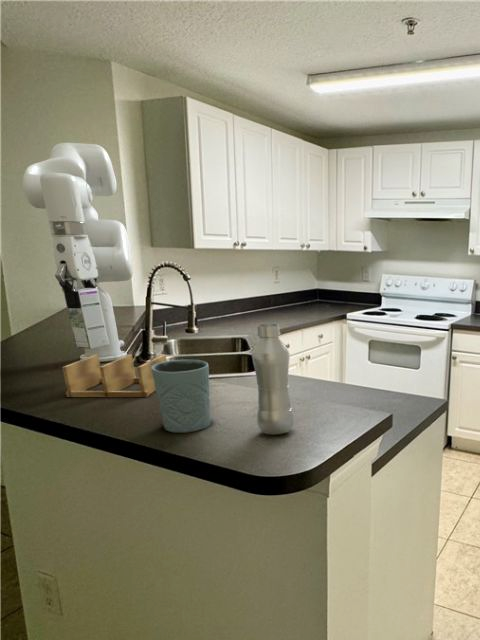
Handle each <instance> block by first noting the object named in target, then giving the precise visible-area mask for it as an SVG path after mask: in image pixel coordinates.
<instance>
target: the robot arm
mask: <svg viewBox="0 0 480 640" xmlns="http://www.w3.org/2000/svg"><path fill="white" fill-rule="evenodd" d="M109 155H110V154H109V153H108V152H107V151H106V149H105V148H104V147H103V146H101V145H99V144H95V143H80V142H60V143H57V144H55V145H54V146H52V149H51V151H50V155H49V158H48V159H45V160H41V161H38V162H36V163H32V164H30V165H28V166H27V167H26V169H24V173H23V177H22V191H23V195H24V198H25V199H26V201H27V202H28V204H29V205H31V206H32V207H34V208H36V209H43V210H45V211H46V216H47V220H48V226H49V230H50V235H51V238H52V248H53V256H54V262H55V267H56V272H55V274H54V277H55V279H56V280H57V282H58V284H59V286H60V287H61V291H62V292H64V293H63V295H64V294H65V297H64V300H65V299H66V302H65V305H66V304H67V306H66V309H67V308H81V302H80V297H79V292H78V291H76V288H97V289H98V294H99V298H100V303H101V308H102V313H103V317H104V322H105V327H106V331H107V336H108V340H109V346H105V347H100V348H94V349H87V348H83V350H84V353H83V354H81V355H80V356H79V360H82V359H84V358H87V357H90V356H92V355H95V354H98V356H99V361H100V363H105V362H112V361H115V360H117V359H119V358H122V357H124V356H126V355H128V353H127V351H125V350H121V347H124V346H125V341H124V340H122V339H119V334H118V328H117V323H116V317H115V316H116V315H115V312H114V307H113V301H112V298H111V296H110V293H108V292H107V290H105V289H104V288H103V287H102V286H101V285H100V284H99V283H111V282H115V283H117V282H126V281H127V282H128V281H129V280H131V279H132V277H133V275H134V266H133V258H132V252H131V245H130V239H129V235H128V234H129V233H128V230H127V229H126V227H125V225H124V224H123V223H122V222H120V221H119V220H115V219H99V214H98V212H97V210H96V209H95V208H94V206H93V205H91V204H92V202H93V197H94V196H95V197H110V196H113V195H115V193H116V192H117V187H118V185H117V183H118V182H117V178H116V175H115V170H114V167H113V163H112V159H111V157H110V156H109Z"/></svg>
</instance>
